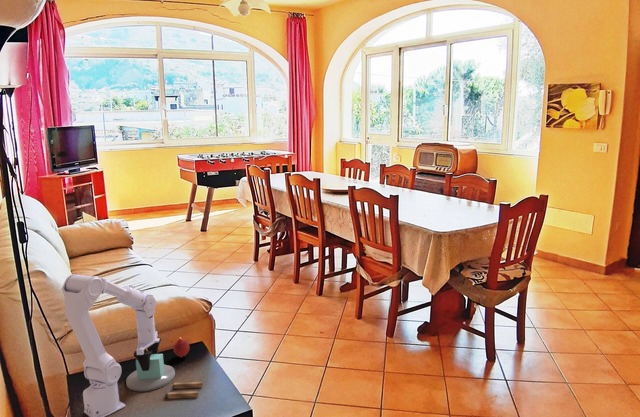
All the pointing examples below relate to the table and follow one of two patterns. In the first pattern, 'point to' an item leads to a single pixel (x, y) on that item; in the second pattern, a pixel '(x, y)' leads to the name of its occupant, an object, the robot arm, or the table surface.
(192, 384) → the brown wooden frame
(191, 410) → the table surface
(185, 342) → the onion
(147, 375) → the tall mint rectangular block
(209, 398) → the table surface
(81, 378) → the table surface
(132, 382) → the plate
